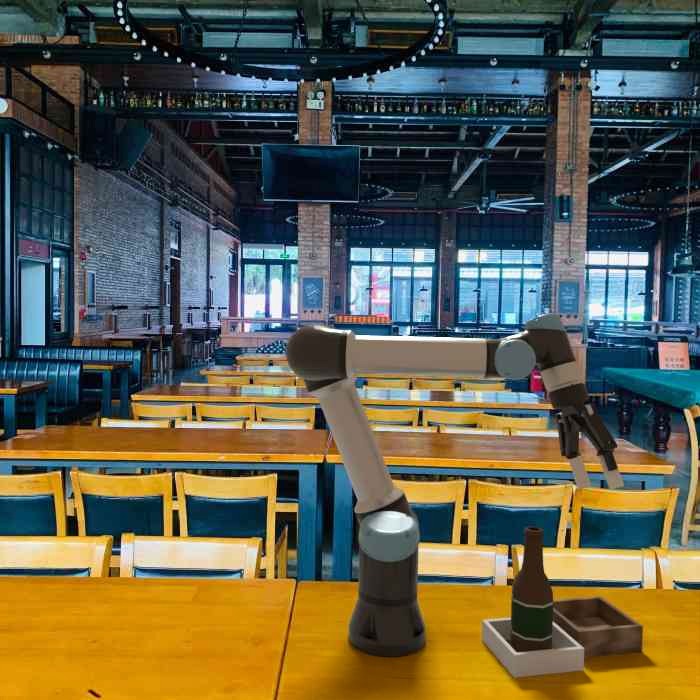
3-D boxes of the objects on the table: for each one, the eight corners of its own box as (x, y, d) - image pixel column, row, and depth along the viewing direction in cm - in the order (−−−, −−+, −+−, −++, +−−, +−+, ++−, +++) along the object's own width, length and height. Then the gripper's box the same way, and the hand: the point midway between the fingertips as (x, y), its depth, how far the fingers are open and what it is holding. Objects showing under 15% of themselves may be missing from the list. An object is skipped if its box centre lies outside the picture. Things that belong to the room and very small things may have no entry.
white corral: (513, 677, 110) (514, 655, 110) (481, 640, 123) (482, 620, 123) (583, 670, 113) (584, 648, 113) (544, 634, 126) (545, 614, 126)
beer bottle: (515, 640, 124) (519, 519, 123) (556, 651, 120) (560, 526, 119) (503, 657, 117) (507, 530, 116) (546, 670, 113) (550, 538, 112)
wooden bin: (578, 658, 117) (578, 631, 117) (541, 624, 130) (541, 600, 130) (642, 651, 120) (642, 626, 120) (599, 619, 133) (600, 596, 133)
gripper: (610, 371, 118) (651, 481, 114) (557, 391, 142) (589, 483, 138) (574, 380, 117) (613, 493, 113) (527, 399, 141) (557, 492, 137)
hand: (600, 488), depth 126 cm, fingers open, 13 cm apart
